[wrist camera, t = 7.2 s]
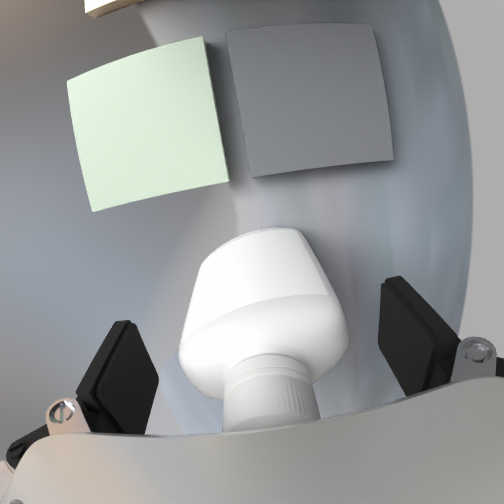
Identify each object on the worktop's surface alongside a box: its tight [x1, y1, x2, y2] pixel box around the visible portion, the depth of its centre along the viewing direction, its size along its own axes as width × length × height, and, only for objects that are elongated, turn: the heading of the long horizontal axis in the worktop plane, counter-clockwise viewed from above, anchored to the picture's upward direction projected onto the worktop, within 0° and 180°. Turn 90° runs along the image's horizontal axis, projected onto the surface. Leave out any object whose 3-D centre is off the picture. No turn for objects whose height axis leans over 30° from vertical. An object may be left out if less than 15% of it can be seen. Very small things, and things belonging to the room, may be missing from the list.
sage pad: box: [67, 36, 230, 212], centre depth 13 cm, size 7×7×1 cm
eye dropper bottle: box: [178, 227, 350, 433], centre depth 11 cm, size 4×6×12 cm
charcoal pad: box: [225, 23, 394, 178], centre depth 12 cm, size 7×7×1 cm
